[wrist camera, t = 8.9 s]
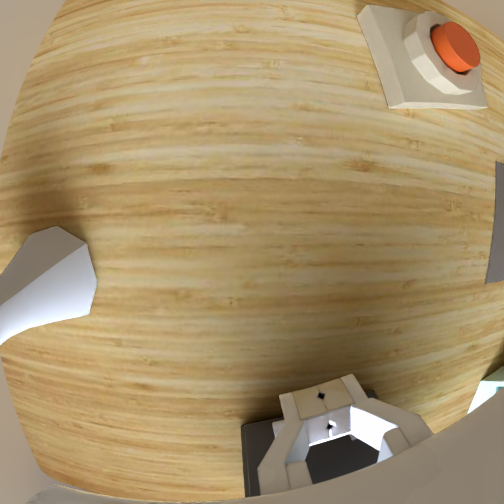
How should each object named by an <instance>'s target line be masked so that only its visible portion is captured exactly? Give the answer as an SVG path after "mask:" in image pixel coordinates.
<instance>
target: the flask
mask: <svg viewBox="0 0 504 504" xmlns="http://www.w3.org/2000/svg"><path fill="white" fill-rule="evenodd" d="M96 286H97V279H96V276H95V272H94V269H93V266H92V262H91V258H90V254H89V251H88V247H87V243H85V242H84V241H82V240H80V239H78V238H77V237H75V236H73V235H72V234H70V233H68V232H66V231H65V230H63V229H61V228H60V227H58V226H55V227H51V228H48V229H45V230H42V231H39V232H36V233H33V234H31V235H30V236H29V237H28V238H27V240H26V241H25V242H24V244H23V245H22V246H21V248H20V249H19V251H18V252H17V253H16V255H15V256H14V258H13V259H12V260H11V262H10V263H9V264H8V266H7V267H6V268H5V270H4V271H3V273H2V274H1V275H0V345H1V344H2V343H3V342H4V341H6V340H7V339H8V338H9V337H11V336H13V335H15V334H17V333H19V332H22V331H24V330H26V329H28V328H31V327H35V326H39V325H43V324H47V323H51V322H55V321H59V320H64V319H69V318H74V317H79V316H84V315H88V314H89V312H90V308H91V304H92V300H93V297H94V293H95V290H96Z"/></svg>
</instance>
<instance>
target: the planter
mask: <svg viewBox="0 0 504 504" xmlns="http://www.w3.org/2000/svg"><path fill="white" fill-rule="evenodd" d="M503 387H504V365H503V366H502V367H501V368H499V369H498V370H496V371H495V372H493V373H492V374H490V375H489V376H487V377H486V378H484V379H483V380H481V382H480V384H479V387H478V389H477V392H476V394H475V397H474V399H473V402H472V404H471V406H470V408H469V411H468V413H470V412H471V411H472V410H474V409H475V408H477V407H478V406H479V405H481V404H482V403H483V402H485V401H486V400H487V399H489V398H490V397H491V396H493V395H494V394H495V393H496V392H498V391H499V390H500V389H501V388H503ZM468 413H467V414H468Z"/></svg>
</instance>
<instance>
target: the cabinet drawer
mask: <svg viewBox="0 0 504 504" xmlns="http://www.w3.org/2000/svg"><path fill="white" fill-rule="evenodd" d="M365 394H366V396H367V397H368V399H369V398H375V399H377V397H376V395H375V394H374V392H373V391H372V390H369V391H367V392H365ZM377 400H378V399H377ZM282 425H286V423H285V419H284V417H280V418H275V419H271V420H266V421H261V422H256V423H251V424H245V425H244V426H245V440H246V454H247V466H248V479H249V491H250V497H254V496H261V494H260V486H259V478H258V470H257V468H258V467H259V465H260V463H261V462H262V460H263V458H264V457H265V455H266V453H267V452H268V450H269V448H270V446H271V445H272V443H273V441H274V439H275V438H276V436H277V434H278V432H279V430H280V428H281V427H282ZM379 452H380V451H379V450H377V449H375V448H374V447H372V446H370V445H369V444H367V443H365V442H363V441H362V440H360V439H358V438H357V437H355V436H354V435H352V434H351V433H350V434H347V435H344V436H340V437H337V438H334V439H330V440H327V441H324V442H321V443H318V444H315V445H312V446H310V448H309V451H308V454H307V456H306V459H305V462H306V464H307V468H308V471H309V474H310V477H311V481H312V484H316V483H320V482H324V481H327V480H330V479H333V478H337V477H340V476H343V475H346V474H349V473H352V472H354V471H357V470H360V469H362V468H365V467H368V466H370V465H373V464H375V463H377V461H378V457H379Z"/></svg>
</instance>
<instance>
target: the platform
mask: <svg viewBox="0 0 504 504" xmlns="http://www.w3.org/2000/svg"><path fill="white" fill-rule="evenodd" d="M503 280H504V164H502V163H499V162H496V204H495V219H494V230H493V239H492V247H491V254H490V260H489V266H488V272H487V277H486V282H485V284H488V283H493V282H498V281H503Z"/></svg>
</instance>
